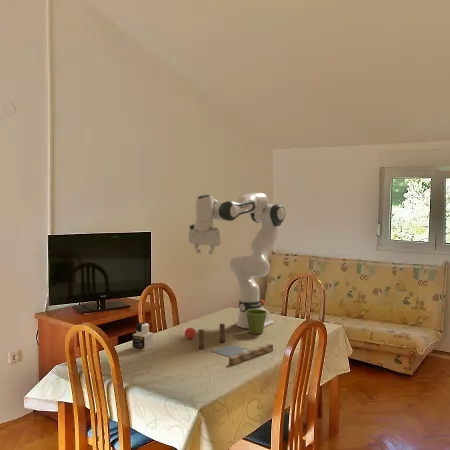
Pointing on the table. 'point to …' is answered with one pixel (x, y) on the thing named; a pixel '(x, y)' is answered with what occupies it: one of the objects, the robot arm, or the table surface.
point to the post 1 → (201, 339)
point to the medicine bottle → (142, 337)
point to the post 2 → (222, 333)
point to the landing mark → (230, 350)
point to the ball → (190, 333)
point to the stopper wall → (250, 354)
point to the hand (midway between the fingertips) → (204, 253)
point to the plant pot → (256, 320)
